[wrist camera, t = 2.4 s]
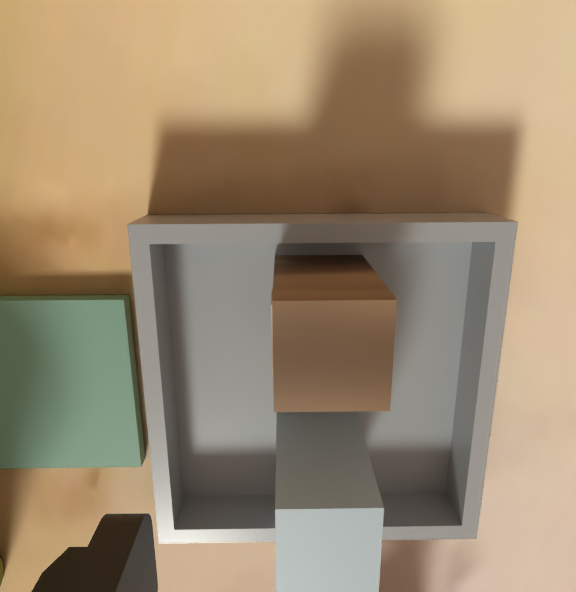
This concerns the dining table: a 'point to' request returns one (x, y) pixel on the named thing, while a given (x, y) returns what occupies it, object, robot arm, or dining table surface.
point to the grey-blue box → (325, 505)
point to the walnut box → (331, 335)
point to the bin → (258, 363)
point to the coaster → (68, 383)
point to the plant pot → (1, 571)
